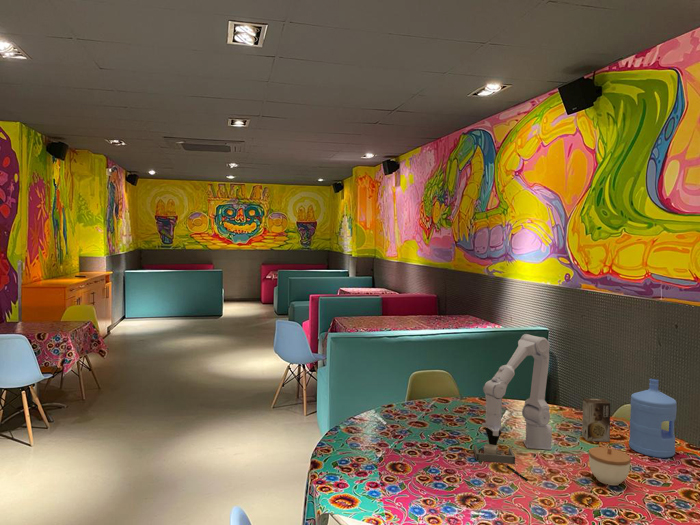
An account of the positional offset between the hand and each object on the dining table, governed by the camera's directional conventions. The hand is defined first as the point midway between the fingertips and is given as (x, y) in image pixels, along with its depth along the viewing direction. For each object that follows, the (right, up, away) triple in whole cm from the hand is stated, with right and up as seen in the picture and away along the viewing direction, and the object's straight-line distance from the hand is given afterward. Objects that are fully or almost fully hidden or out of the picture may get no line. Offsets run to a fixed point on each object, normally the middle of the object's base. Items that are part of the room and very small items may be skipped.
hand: (492, 448), depth 193 cm
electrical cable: (+3, -3, -17) cm, 18 cm away
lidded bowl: (+33, -3, -21) cm, 40 cm away
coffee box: (+48, -3, +18) cm, 51 cm away
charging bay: (-1, -2, -3) cm, 4 cm away
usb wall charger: (0, -2, -4) cm, 4 cm away
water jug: (+64, -4, +7) cm, 65 cm away
